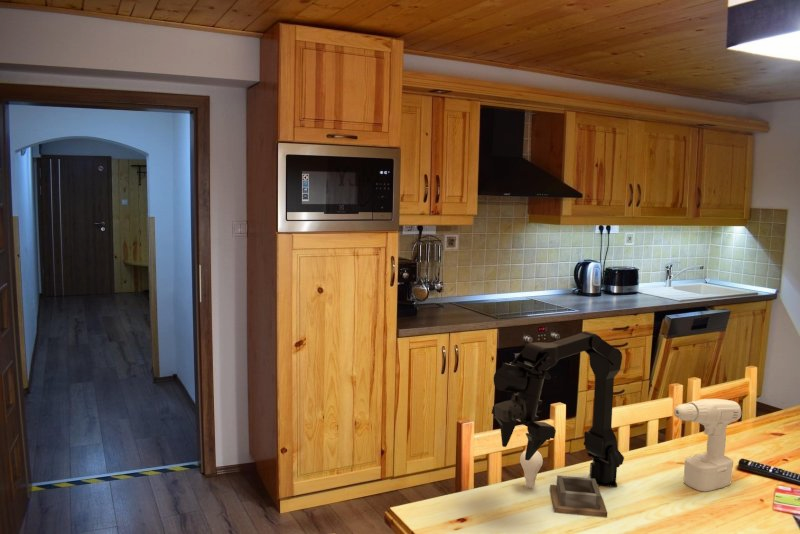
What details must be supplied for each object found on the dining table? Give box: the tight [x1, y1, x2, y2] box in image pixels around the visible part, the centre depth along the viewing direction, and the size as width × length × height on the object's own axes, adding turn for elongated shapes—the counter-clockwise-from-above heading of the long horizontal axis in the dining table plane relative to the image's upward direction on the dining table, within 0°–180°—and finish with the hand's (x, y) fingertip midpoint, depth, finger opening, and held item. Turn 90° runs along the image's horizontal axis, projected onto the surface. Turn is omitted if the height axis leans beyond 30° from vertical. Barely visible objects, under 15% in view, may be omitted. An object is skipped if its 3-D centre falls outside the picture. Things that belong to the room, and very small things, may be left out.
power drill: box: [673, 398, 742, 492], centre depth 180 cm, size 8×24×25 cm, turn 116°
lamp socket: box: [549, 474, 608, 518], centre depth 169 cm, size 13×13×5 cm
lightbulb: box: [519, 449, 544, 489], centre depth 177 cm, size 6×6×11 cm
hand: (515, 453), depth 163 cm, fingers open, 9 cm apart
